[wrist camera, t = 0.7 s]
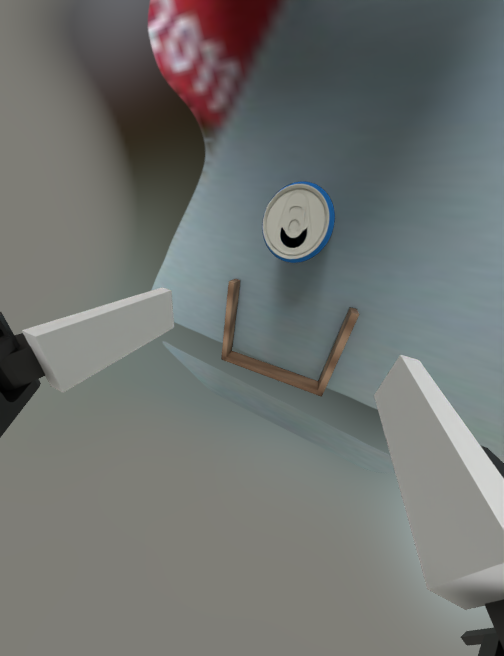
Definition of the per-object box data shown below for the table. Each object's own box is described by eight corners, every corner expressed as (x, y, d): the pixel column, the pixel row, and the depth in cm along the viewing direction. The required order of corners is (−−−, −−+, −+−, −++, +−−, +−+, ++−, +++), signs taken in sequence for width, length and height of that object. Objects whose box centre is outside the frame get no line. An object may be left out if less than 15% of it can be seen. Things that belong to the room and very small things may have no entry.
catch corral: (235, 278, 33) (228, 281, 31) (356, 309, 28) (359, 314, 26) (227, 353, 40) (221, 359, 38) (322, 387, 35) (321, 396, 33)
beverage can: (281, 254, 29) (256, 261, 18) (286, 203, 26) (259, 179, 16) (326, 257, 27) (326, 266, 16) (337, 202, 24) (344, 174, 14)
